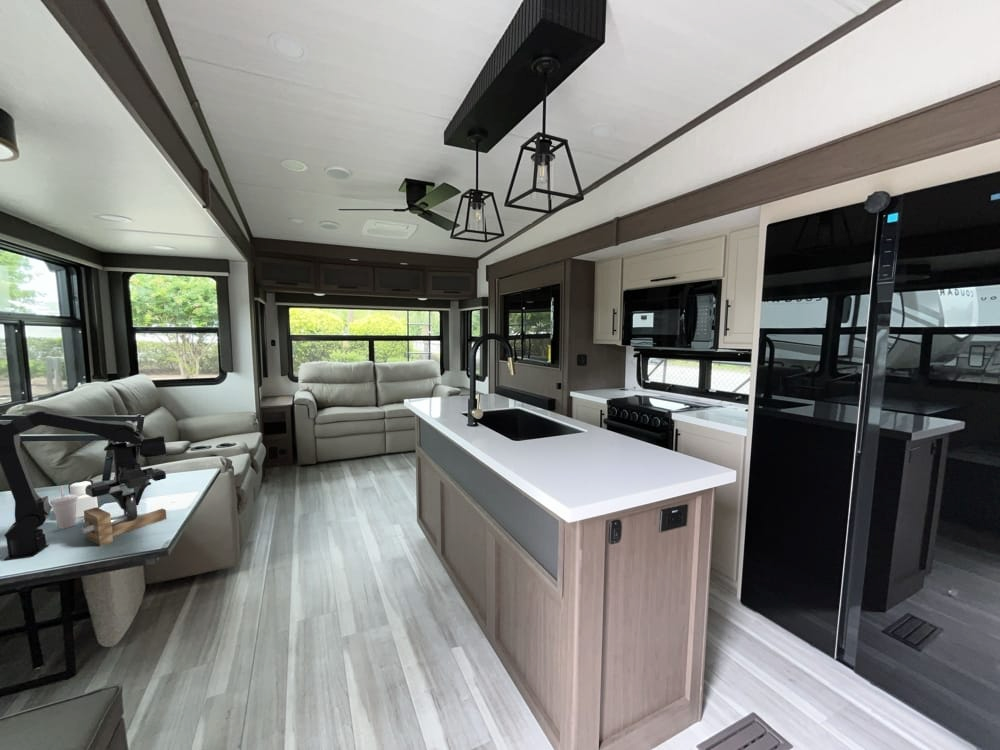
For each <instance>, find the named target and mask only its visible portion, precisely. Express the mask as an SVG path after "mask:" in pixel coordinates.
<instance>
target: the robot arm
mask: <svg viewBox="0 0 1000 750" xmlns="http://www.w3.org/2000/svg"><path fill="white" fill-rule="evenodd" d="M39 426H44V427H45V426H47V427H52V428H58V429H64V430H68V431H70V430H71V431H74V432H75V431H76V432H81V433H82V432H83V433H88V434H93V435H96V436H98V437H102V438H104V439H106V440H110V441H109V443H108V444H107V445H106V446H104V449H103V451H104V452H107V451H112V458H113V459H112V460H113V464H112V469H113V470H114V477H113V480H114V481H112V482H109V483H106V482H104V481H99V482H96V483H93V484H91V485H88V486H87V487H86V489H85V491H86V494H87V495H89V496H91V497H97V498H98V497H101V496H105V495H109V496H111V497H113V499H114V500H115V502H116V503H117V505H118V506H119V508H121V510H124V509H125V505H124V500H123V496H122V495H123V494H124V491H123V490H122V489H121V487H124V486H125V487H126V488H127V489H131V490H132V489H133V492H135V493H136V504H137V506H139V505H140V501H141V499H142V496H143V493H144V491H145V489H146V488H147V487H148V486H151V485H152V482H150V480H153V481H154V482H157V481H161V480H164V479H165V480H166V479H167V473H166V471H164V470H162V469H159V468H153V467H148V468H145V469H142V468H141V464H140V463H139V459H138V449H139V456H140V457H142V458H144V459H151V458H156V457H162V456H163V457H164V456H167V448H166V445H167V444H166V443H165V442H166V441H165V436H164V435H158V436H154V437H153V436H152V437H144V436H143V435H142V434H140V433H139V432H138V431H136V427H135V425H134V424H133V423H131V422H128V421H122V420H121V421H119V420H118V421H117V420H97V419H91V418H87V417H86V418H85V417H80V416H76V415H69V414H65V413H59V412H54V411H49V410H47V409H40V410H39V409H38V410H36V411H34V412H33V413H30V414H26V415H24V416H20V417H18V418H15V419H12V420H10V421H9V420H0V466H1V470H2V471H3V474H4V476H5V479H6V481H7V485H8V487H9V489H10V492H11V494H12V497H13V499H14V522H13V523H12V524H11V526H9V529H8V530H7V531H6V533H5V534H4V537H5V541H6V545H7V546H6V547H7V553H8V555H7V556H5V557H3V560H4V561H8V560H15V559H22V558H23V559H24V558H32V557H34V556H36V555H37V554H39V553H40V552H42V551H43V550H45V549H47V548H48V547H49V546H50V544H47V540H46V534H45V533H44V530H43V528H40V527H42V526H43V525H44V523H45V522H46V520H47V519H48V517H49V516H50V512H51V510H52V509H53V507H52V505H51V504H50V501H49V497H48V495H46V496H44V497H41V496H40V495H39V494H37V492H36V488H35V487H34V485H33V484H34V483H33V482H32V479H31V476H30V474H29V471H28V468H27V466H26V465H27V464H26V463H25V460H24V458H23V455H22V452H21V449H20V447H21V433H24V432H26V431H29V430H31V429H34V428H36V427H39ZM115 442H116V443H115ZM137 447H138V449H137Z"/></svg>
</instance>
